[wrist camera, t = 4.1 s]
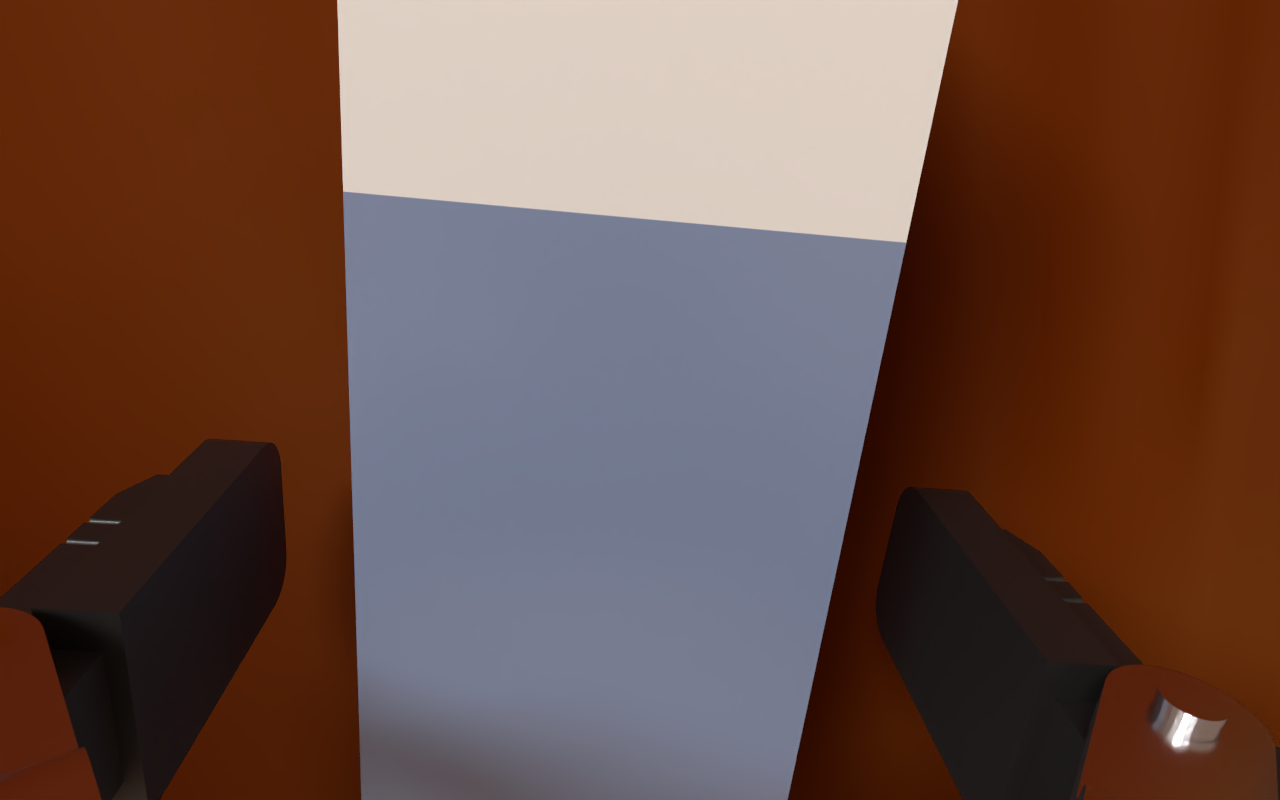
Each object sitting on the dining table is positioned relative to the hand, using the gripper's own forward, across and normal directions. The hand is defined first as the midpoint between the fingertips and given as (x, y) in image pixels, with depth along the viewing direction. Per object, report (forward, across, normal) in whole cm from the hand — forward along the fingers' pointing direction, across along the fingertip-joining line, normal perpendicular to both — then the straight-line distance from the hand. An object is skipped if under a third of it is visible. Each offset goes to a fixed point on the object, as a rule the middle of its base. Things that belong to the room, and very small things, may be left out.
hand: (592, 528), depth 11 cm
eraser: (+2, 0, 0) cm, 2 cm away
